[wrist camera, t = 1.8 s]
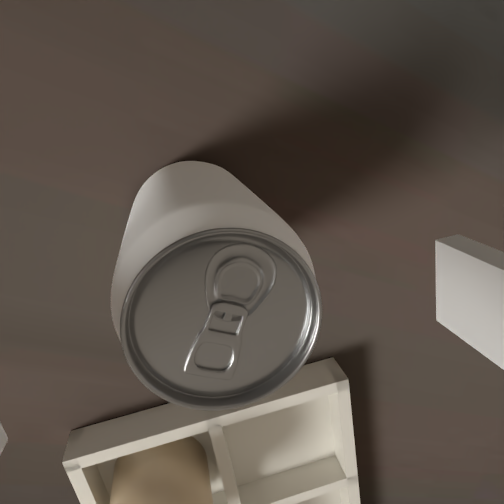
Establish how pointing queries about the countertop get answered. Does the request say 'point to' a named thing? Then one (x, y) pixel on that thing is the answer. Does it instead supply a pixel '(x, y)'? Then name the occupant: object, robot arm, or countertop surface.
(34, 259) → the countertop surface
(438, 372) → the countertop surface
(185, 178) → the can
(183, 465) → the paper cup
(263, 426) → the carrier
